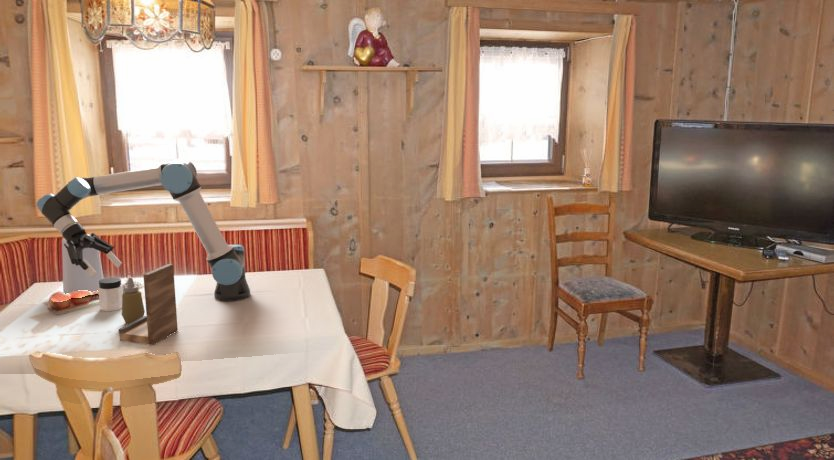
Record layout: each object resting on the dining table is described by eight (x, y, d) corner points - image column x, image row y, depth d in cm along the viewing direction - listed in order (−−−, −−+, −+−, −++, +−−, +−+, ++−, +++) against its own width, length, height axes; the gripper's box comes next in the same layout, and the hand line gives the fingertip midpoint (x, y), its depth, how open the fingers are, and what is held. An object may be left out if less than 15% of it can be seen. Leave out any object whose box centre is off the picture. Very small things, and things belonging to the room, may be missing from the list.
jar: (101, 312, 247) (98, 284, 244) (99, 306, 254) (96, 279, 251) (125, 309, 252) (123, 281, 249) (122, 303, 259) (120, 276, 256)
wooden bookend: (177, 331, 230) (173, 264, 224) (153, 345, 217) (148, 274, 211) (145, 327, 233) (139, 261, 228) (119, 340, 220) (113, 271, 214)
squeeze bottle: (127, 318, 242) (123, 274, 238) (148, 318, 242) (145, 274, 238) (119, 326, 234) (115, 280, 230) (141, 325, 234) (137, 280, 230)
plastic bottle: (98, 285, 281) (93, 225, 275) (108, 293, 270) (102, 231, 264) (61, 291, 272) (54, 230, 266) (69, 300, 261) (63, 236, 255)
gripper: (89, 228, 249) (124, 267, 249) (38, 242, 225) (77, 285, 225) (99, 216, 246) (134, 255, 246) (49, 229, 223) (88, 272, 222)
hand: (107, 270), depth 235 cm, fingers open, 13 cm apart
